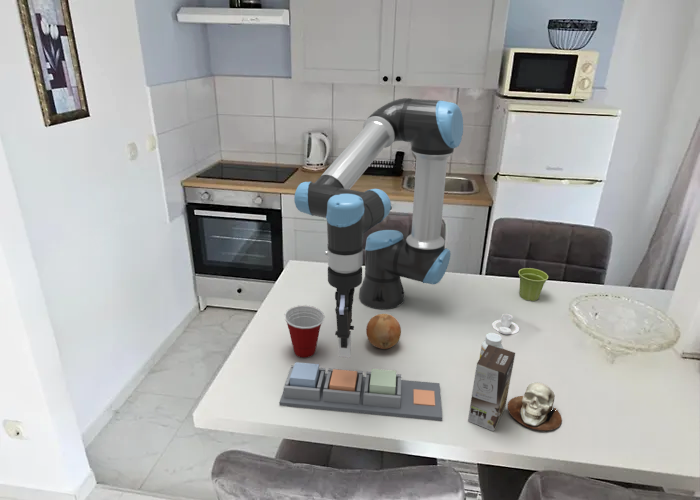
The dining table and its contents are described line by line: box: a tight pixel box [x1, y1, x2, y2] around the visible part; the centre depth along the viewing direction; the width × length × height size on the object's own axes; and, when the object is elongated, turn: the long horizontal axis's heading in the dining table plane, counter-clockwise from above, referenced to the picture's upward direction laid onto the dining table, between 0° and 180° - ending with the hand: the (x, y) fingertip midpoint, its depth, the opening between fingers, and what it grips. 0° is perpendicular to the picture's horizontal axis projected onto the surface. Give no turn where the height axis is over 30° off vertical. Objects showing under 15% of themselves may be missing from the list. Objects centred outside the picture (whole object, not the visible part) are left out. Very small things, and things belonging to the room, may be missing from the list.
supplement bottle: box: [478, 332, 504, 359], centre depth 127 cm, size 5×5×10 cm
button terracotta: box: [329, 368, 358, 392], centre depth 117 cm, size 6×6×3 cm
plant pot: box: [518, 267, 549, 302], centre depth 163 cm, size 9×9×9 cm
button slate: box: [290, 361, 320, 388], centre depth 118 cm, size 6×6×3 cm
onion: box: [365, 313, 402, 350], centre depth 136 cm, size 10×10×10 cm
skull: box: [507, 382, 563, 432], centre depth 113 cm, size 12×10×10 cm
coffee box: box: [467, 345, 516, 432], centre depth 110 cm, size 9×6×16 cm
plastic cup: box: [283, 304, 326, 359], centre depth 132 cm, size 11×11×12 cm
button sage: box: [369, 368, 397, 395], centre depth 116 cm, size 6×6×3 cm
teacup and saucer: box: [491, 313, 520, 335], centre depth 147 cm, size 9×8×4 cm
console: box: [278, 364, 443, 422], centre depth 118 cm, size 38×12×4 cm, turn 83°
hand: (344, 355), depth 114 cm, fingers closed
